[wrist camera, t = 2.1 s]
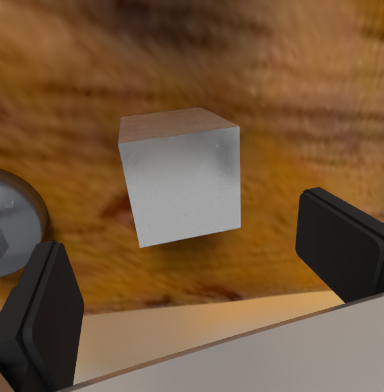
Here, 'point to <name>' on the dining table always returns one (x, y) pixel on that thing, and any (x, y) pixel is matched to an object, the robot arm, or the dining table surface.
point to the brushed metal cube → (181, 173)
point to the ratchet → (19, 222)
